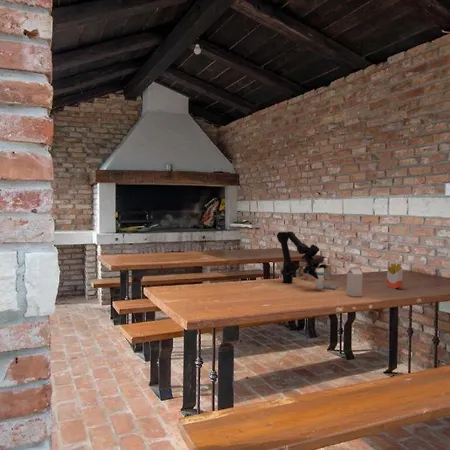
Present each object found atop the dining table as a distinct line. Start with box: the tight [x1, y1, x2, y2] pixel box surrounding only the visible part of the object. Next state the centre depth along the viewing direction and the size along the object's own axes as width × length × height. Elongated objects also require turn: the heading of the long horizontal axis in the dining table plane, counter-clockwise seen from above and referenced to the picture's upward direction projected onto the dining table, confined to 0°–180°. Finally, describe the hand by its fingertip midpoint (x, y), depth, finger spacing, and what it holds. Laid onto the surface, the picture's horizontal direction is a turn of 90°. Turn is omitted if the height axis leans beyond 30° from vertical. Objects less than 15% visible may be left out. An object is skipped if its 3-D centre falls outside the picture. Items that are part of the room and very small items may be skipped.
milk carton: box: [346, 266, 363, 298], centre depth 281 cm, size 7×7×19 cm
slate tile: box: [322, 283, 339, 291], centre depth 306 cm, size 13×11×1 cm
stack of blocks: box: [302, 263, 332, 281], centre depth 337 cm, size 21×6×12 cm, turn 88°
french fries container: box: [386, 262, 404, 290], centre depth 306 cm, size 5×11×18 cm, turn 20°
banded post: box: [314, 268, 325, 290], centre depth 295 cm, size 6×6×14 cm
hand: (321, 278), depth 293 cm, fingers closed on banded post, 6 cm apart
